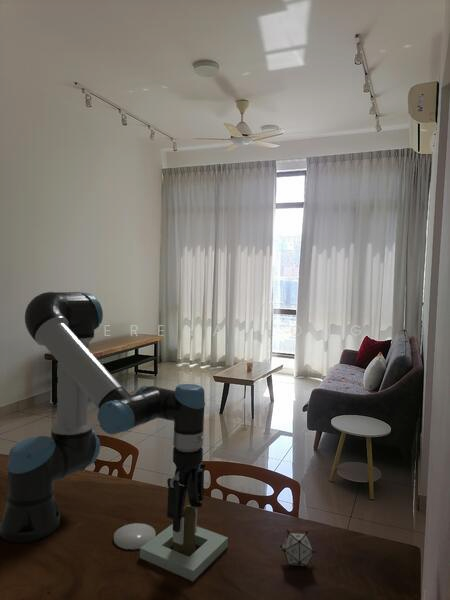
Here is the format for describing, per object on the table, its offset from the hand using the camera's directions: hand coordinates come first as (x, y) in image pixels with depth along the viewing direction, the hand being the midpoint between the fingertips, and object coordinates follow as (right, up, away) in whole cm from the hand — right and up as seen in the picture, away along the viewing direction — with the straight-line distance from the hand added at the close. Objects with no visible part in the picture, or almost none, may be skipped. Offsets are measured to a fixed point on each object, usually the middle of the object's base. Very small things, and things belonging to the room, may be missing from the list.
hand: (184, 536), depth 112 cm
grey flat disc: (-14, -3, +6) cm, 15 cm away
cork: (0, -4, 0) cm, 4 cm away
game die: (+28, -5, -3) cm, 29 cm away
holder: (0, -4, 0) cm, 4 cm away
